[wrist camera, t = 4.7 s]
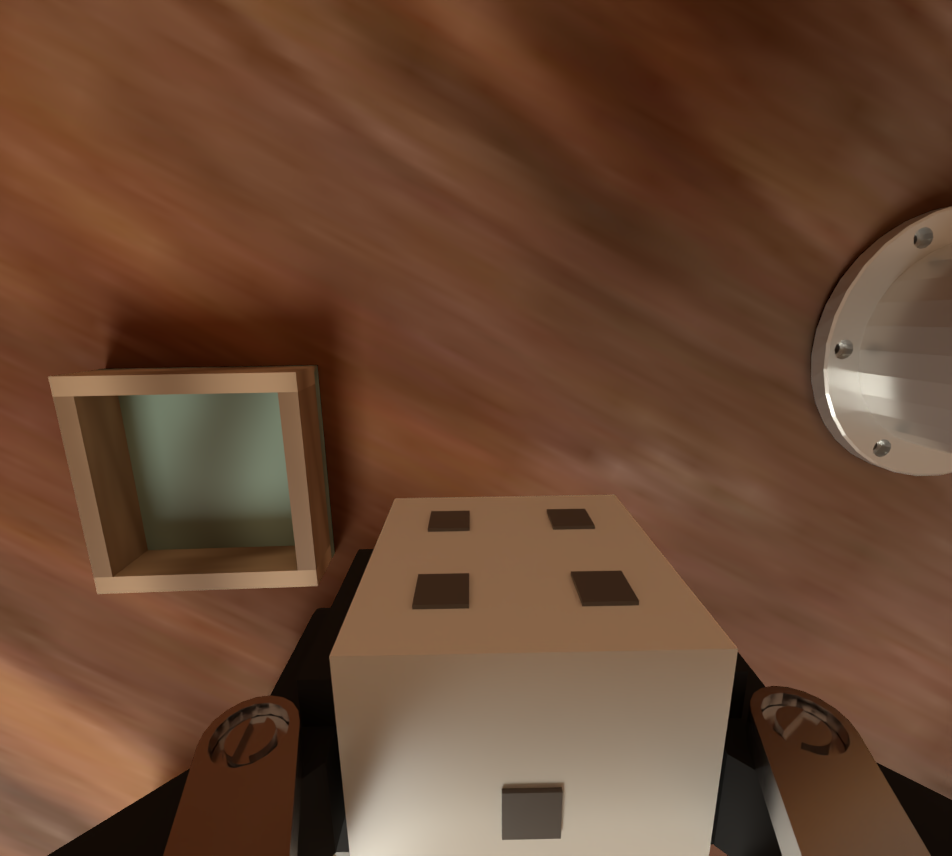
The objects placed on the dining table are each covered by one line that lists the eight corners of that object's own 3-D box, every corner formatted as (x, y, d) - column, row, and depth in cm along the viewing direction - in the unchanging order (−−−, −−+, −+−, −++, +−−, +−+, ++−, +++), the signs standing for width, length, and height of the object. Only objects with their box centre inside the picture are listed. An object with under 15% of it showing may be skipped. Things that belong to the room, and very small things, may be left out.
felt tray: (317, 365, 21) (295, 372, 19) (334, 553, 24) (317, 586, 21) (104, 368, 21) (47, 376, 18) (142, 559, 23) (97, 593, 20)
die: (615, 491, 10) (741, 648, 6) (603, 679, 12) (699, 944, 7) (391, 495, 10) (320, 655, 6) (403, 683, 12) (352, 952, 7)
